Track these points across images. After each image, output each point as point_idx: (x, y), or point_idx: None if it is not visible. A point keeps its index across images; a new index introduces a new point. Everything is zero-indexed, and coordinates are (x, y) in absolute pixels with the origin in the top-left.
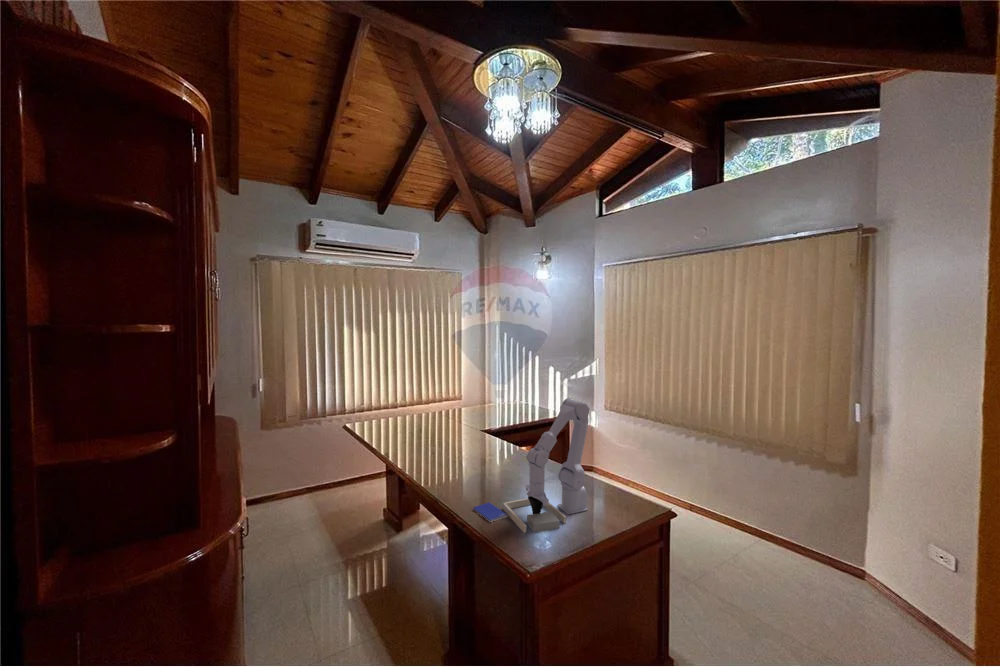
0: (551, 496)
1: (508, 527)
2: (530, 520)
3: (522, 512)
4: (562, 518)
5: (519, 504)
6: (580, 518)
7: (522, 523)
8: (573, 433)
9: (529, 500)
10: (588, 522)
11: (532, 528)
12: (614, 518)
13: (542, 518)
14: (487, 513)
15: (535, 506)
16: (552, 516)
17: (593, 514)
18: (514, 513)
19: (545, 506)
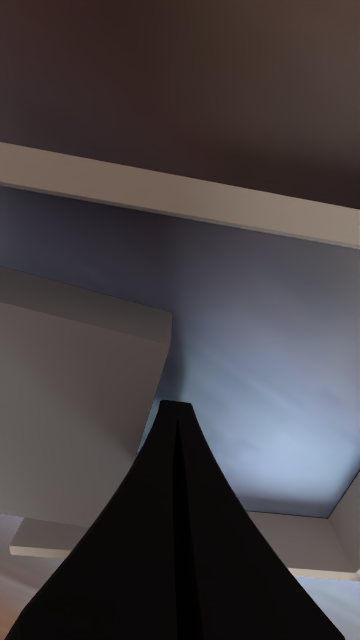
0: (329, 579)
1: (189, 44)
2: (55, 310)
3: (324, 372)
4: (45, 521)
5: None
6: (60, 562)
7: (2, 151)
8: None
9: (273, 587)
10: (10, 566)
11: (21, 277)
12: (9, 628)
13: (28, 428)
14: None
15: (95, 527)
16: (35, 502)
17: None
18: (315, 232)
19: (264, 519)
